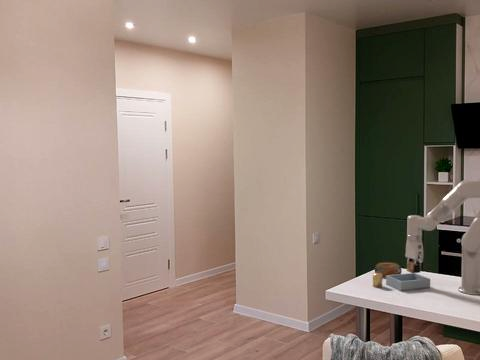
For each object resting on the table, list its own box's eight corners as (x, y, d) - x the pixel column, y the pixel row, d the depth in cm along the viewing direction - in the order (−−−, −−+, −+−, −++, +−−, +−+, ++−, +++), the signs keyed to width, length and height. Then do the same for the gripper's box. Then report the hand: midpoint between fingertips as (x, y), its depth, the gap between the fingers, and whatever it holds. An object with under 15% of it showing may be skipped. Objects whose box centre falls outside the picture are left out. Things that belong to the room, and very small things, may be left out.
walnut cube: (420, 272, 265) (420, 263, 265) (412, 273, 264) (412, 264, 263) (414, 270, 270) (414, 261, 269) (406, 270, 268) (406, 261, 268)
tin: (374, 276, 287) (374, 262, 287) (374, 275, 290) (374, 261, 290) (401, 278, 283) (401, 264, 282) (401, 277, 286) (401, 262, 285)
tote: (430, 288, 261) (430, 278, 261) (400, 291, 257) (400, 281, 256) (414, 281, 275) (414, 272, 275) (386, 284, 270) (386, 275, 270)
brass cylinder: (384, 287, 265) (384, 274, 264) (375, 288, 264) (375, 275, 263) (379, 284, 270) (379, 272, 269) (371, 285, 268) (371, 273, 268)
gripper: (430, 240, 258) (429, 274, 259) (410, 235, 275) (410, 267, 276) (417, 241, 256) (417, 275, 257) (399, 235, 273) (398, 267, 274)
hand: (413, 270), depth 267 cm, fingers closed on walnut cube, 5 cm apart
